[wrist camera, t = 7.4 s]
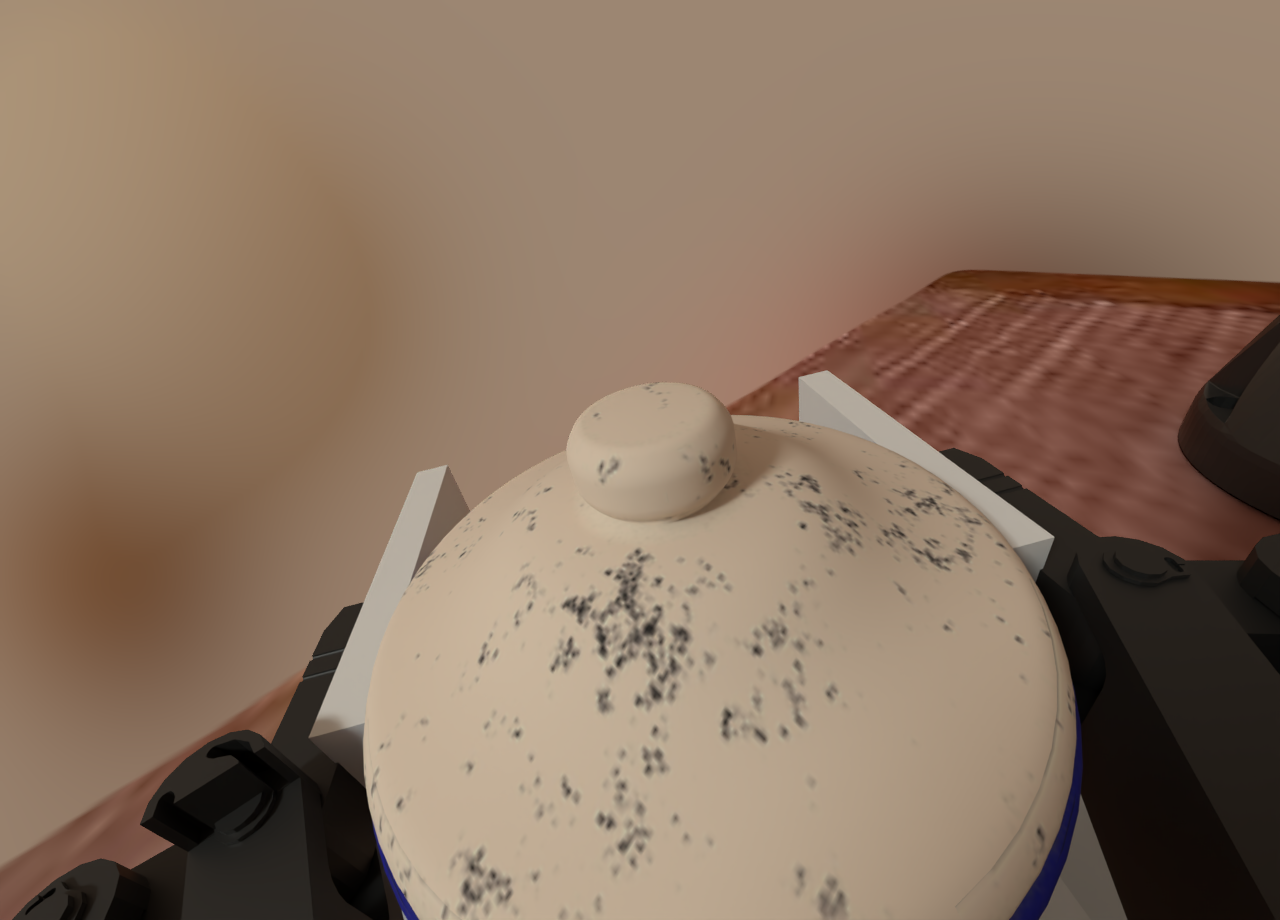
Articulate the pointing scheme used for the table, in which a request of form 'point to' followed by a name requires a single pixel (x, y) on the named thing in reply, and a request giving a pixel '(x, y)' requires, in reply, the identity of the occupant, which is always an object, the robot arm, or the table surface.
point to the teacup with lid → (722, 689)
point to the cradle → (1082, 880)
